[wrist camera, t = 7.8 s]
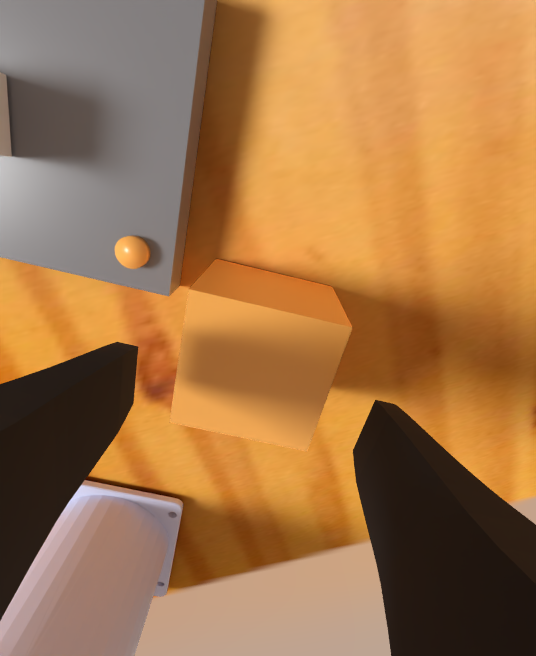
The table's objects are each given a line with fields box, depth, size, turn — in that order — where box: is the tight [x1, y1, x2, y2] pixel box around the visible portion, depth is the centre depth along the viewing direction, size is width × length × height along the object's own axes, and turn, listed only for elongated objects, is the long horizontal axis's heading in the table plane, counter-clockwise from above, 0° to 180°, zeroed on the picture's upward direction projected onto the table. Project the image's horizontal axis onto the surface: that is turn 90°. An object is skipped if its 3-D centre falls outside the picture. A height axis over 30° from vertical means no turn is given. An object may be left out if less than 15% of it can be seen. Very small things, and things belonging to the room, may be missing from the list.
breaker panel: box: [0, 0, 217, 296], centre depth 12 cm, size 10×12×2 cm
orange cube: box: [169, 259, 353, 452], centre depth 13 cm, size 5×5×5 cm
